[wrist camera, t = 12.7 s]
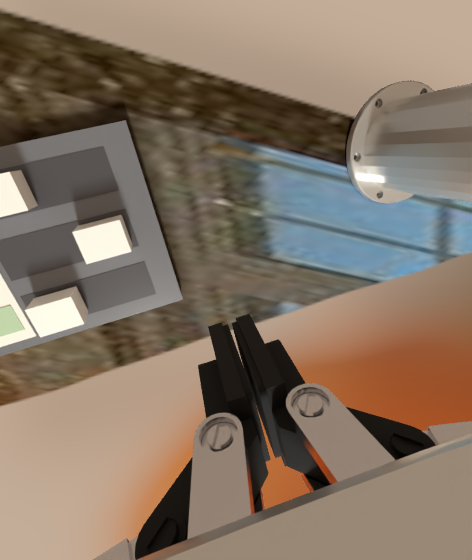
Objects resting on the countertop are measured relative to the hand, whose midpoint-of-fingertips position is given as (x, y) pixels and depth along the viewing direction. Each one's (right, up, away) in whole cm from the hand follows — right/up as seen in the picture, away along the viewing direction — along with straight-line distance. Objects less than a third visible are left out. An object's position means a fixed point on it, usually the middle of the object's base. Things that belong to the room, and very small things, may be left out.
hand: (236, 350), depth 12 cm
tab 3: (-12, +7, +17) cm, 22 cm away
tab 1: (-19, +10, +14) cm, 26 cm away
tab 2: (-17, 0, +19) cm, 25 cm away
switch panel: (-18, +6, +18) cm, 26 cm away
